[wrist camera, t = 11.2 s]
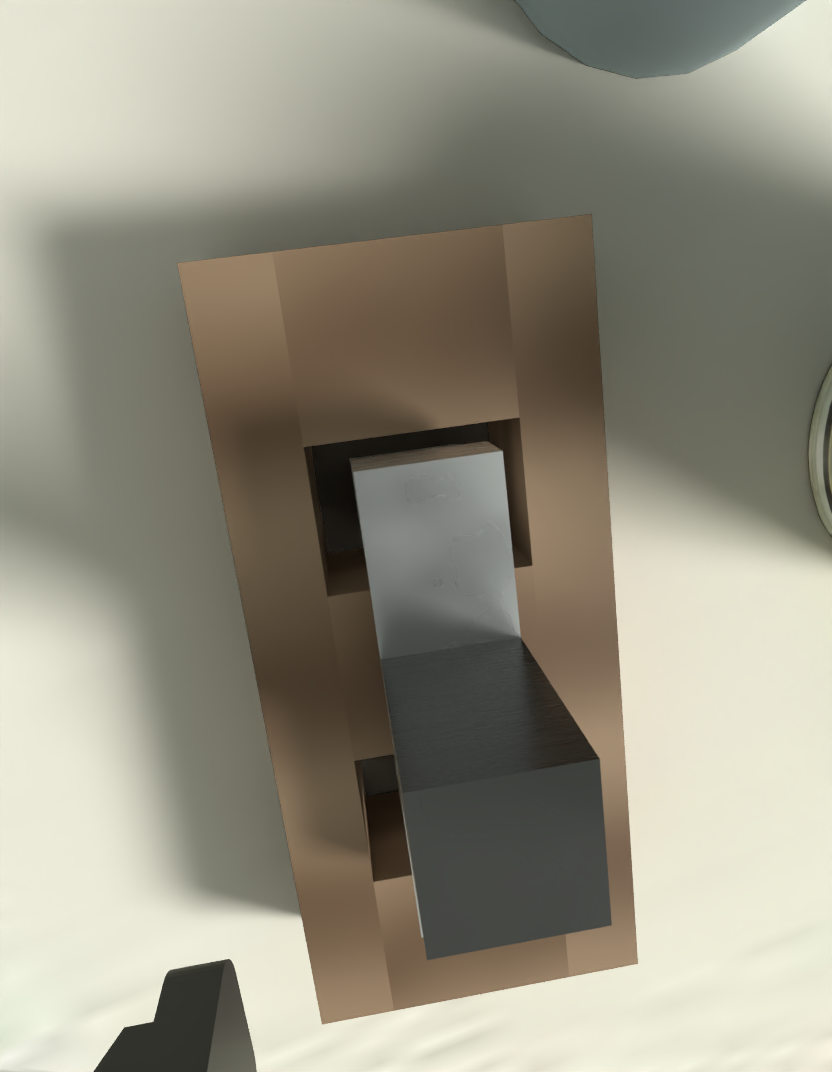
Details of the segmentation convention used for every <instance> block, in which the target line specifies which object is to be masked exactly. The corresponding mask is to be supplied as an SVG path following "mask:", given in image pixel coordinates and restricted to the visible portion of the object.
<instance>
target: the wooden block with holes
mask: <svg viewBox="0 0 832 1072" xmlns="http://www.w3.org/2000/svg"><path fill="white" fill-rule="evenodd" d="M177 265H178V270H179V275H180V281H181V286H182V291H183V296H184V302H185V307H186V312H187V317H188V323H189V328H190V333H191V338H192V344H193V349H194V354H195V359H196V365H197V370H198V375H199V380H200V386H201V391H202V396H203V401H204V407H205V412H206V417H207V422H208V428H209V433H210V438H211V443H212V449H213V454H214V459H215V464H216V470H217V475H218V480H219V485H220V491H221V496H222V501H223V506H224V512H225V517H226V522H227V527H228V533H229V538H230V543H231V548H232V554H233V559H234V564H235V569H236V575H237V580H238V585H239V590H240V596H241V601H242V606H243V611H244V617H245V622H246V627H247V632H248V638H249V643H250V648H251V653H252V659H253V664H254V669H255V674H256V680H257V685H258V690H259V695H260V701H261V706H262V711H263V716H264V722H265V727H266V732H267V737H268V743H269V748H270V753H271V758H272V764H273V769H274V774H275V779H276V785H277V790H278V795H279V800H280V806H281V811H282V816H283V822H284V827H285V832H286V837H287V843H288V848H289V853H290V858H291V864H292V869H293V874H294V879H295V885H296V890H297V895H298V900H299V906H300V911H301V916H302V921H303V927H304V932H305V937H306V942H307V948H308V953H309V958H310V963H311V969H312V974H313V979H314V984H315V990H316V995H317V1000H318V1005H319V1011H320V1016H321V1021H322V1024H327V1023H332V1022H337V1021H342V1020H348V1019H353V1018H358V1017H363V1016H368V1015H374V1014H379V1013H384V1012H389V1011H394V1010H400V1009H405V1008H410V1007H415V1006H420V1005H426V1004H431V1003H436V1002H441V1001H446V1000H452V999H457V998H462V997H467V996H472V995H478V994H483V993H488V992H493V991H498V990H504V989H509V988H514V987H519V986H524V985H530V984H535V983H540V982H545V981H550V980H556V979H561V978H566V977H571V976H576V975H582V974H587V973H592V972H597V971H602V970H608V969H613V968H618V967H623V966H628V965H634V964H638V958H637V942H636V926H635V910H634V893H633V877H632V861H631V845H630V829H629V812H628V796H627V780H626V764H625V747H624V731H623V715H622V699H621V683H620V666H619V650H618V634H617V618H616V602H615V585H614V569H613V553H612V537H611V521H610V504H609V488H608V472H607V456H606V439H605V423H604V407H603V391H602V375H601V358H600V342H599V326H598V310H597V294H596V277H595V261H594V245H593V229H592V214H587V215H579V216H570V217H562V218H553V219H545V220H536V221H528V222H520V223H511V224H503V225H494V226H486V227H477V228H469V229H460V230H452V231H444V232H435V233H427V234H418V235H410V236H401V237H393V238H384V239H376V240H367V241H359V242H351V243H342V244H334V245H325V246H317V247H308V248H300V249H291V250H283V251H275V252H266V253H258V254H249V255H241V256H232V257H224V258H215V259H207V260H199V261H190V262H182V263H177ZM483 422H488V430H489V440H490V443H491V444H493V445H494V446H496V447H497V448H499V449H501V450H502V451H503V459H504V469H505V479H506V490H507V500H508V510H509V521H510V531H511V541H512V552H513V562H514V572H515V582H516V593H517V603H518V613H519V624H520V634H521V638H522V640H523V641H524V643H525V644H526V646H527V648H528V649H529V651H530V652H531V654H532V655H533V657H534V658H535V660H536V661H537V663H538V664H539V666H540V668H541V669H542V671H543V672H544V674H545V675H546V677H547V678H548V680H549V681H550V683H551V685H552V686H553V688H554V689H555V691H556V692H557V694H558V695H559V697H560V698H561V700H562V701H563V703H564V705H565V706H566V708H567V709H568V711H569V712H570V714H571V715H572V717H573V718H574V720H575V721H576V723H577V725H578V726H579V728H580V729H581V731H582V732H583V734H584V735H585V737H586V738H587V740H588V741H589V743H590V745H591V746H592V748H593V749H594V751H595V752H596V754H597V755H598V757H599V758H600V769H601V783H602V796H603V810H604V824H605V838H606V851H607V865H608V879H609V893H610V906H611V920H612V925H611V926H606V927H601V928H596V929H590V930H585V931H580V932H574V933H569V934H564V935H559V936H553V937H548V938H543V939H538V940H532V941H527V942H522V943H516V944H511V945H506V946H501V947H495V948H490V949H485V950H479V951H474V952H469V953H464V954H458V955H453V956H448V957H443V958H437V959H432V960H427V958H426V951H425V945H424V939H423V937H421V931H420V924H419V918H418V912H417V905H416V899H415V892H414V886H413V879H412V872H411V865H410V859H409V853H408V846H407V840H406V833H405V827H404V821H403V814H402V808H401V801H400V795H399V791H397V792H391V793H386V794H380V795H374V796H368V797H366V792H365V785H364V779H363V773H362V766H361V760H363V759H368V758H374V757H380V756H386V755H392V754H394V750H393V743H392V736H391V729H390V723H389V716H388V709H387V702H386V696H385V689H384V682H383V675H382V668H381V662H380V655H379V648H378V641H377V634H376V628H375V621H374V614H373V607H372V601H371V594H370V587H369V580H368V573H367V567H366V560H365V554H364V548H357V549H350V550H344V551H337V552H330V553H328V551H327V545H326V539H325V532H324V526H323V520H322V513H321V507H320V501H319V494H318V488H317V482H316V475H315V469H314V463H313V456H312V450H311V446H315V445H323V444H330V443H337V442H344V441H352V440H359V439H366V438H374V437H381V436H388V435H395V434H403V433H410V432H417V431H425V430H432V429H439V428H446V427H454V426H461V425H468V424H476V423H483Z"/></svg>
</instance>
